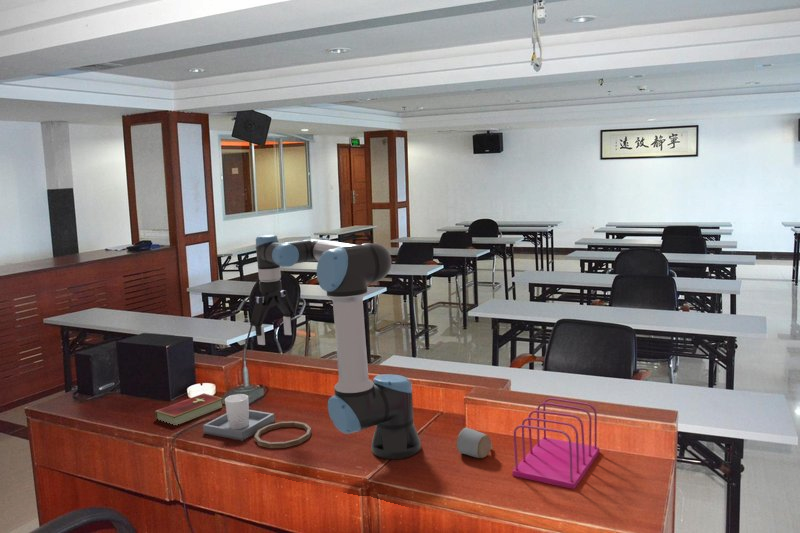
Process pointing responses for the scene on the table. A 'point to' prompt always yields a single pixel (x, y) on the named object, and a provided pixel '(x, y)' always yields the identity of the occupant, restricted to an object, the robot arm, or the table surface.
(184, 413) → the hardcover book
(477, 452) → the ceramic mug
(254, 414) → the tray
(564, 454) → the file sorter
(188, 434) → the table surface
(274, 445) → the holder ring
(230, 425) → the white cup
